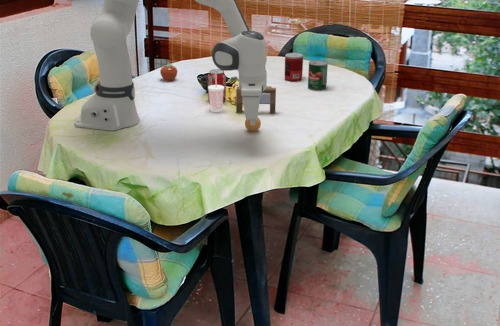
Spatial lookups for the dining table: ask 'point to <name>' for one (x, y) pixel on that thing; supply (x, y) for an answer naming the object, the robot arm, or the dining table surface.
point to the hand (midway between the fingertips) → (253, 123)
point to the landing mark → (265, 99)
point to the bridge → (267, 90)
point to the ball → (253, 127)
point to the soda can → (220, 80)
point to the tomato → (168, 72)
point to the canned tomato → (317, 75)
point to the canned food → (293, 67)
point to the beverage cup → (216, 96)
